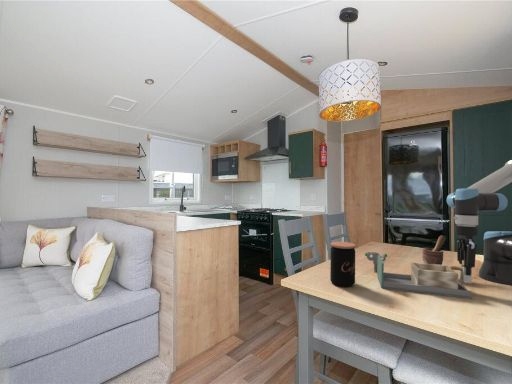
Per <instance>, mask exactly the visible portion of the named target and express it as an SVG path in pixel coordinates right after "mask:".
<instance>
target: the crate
mask: <svg viewBox="0 0 512 384" xmlns="http://www.w3.org/2000/svg"><path fill="white" fill-rule="evenodd" d="M462 265H464V260H462ZM456 271H459V272H460V271H462V280H461V281H463V267H460V266H454V265H449V266H448V265H446V264H445V265H444V264H442V265H436V264H424V262H423V263H422V262H412V261H411V262H410V275H411V281H412V282H413V283H414V285H422V286H431V287H441V288H450V289H458V282H459V272H456Z"/></svg>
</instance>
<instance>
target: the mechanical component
mask: <svg viewBox="0 0 512 384" xmlns="http://www.w3.org/2000/svg"><path fill="white" fill-rule="evenodd" d="M378 255H380V253H379V252H374V251H373V252H372V251H371V252H370V251H366V252H365V253H364V256H365V257H366V259H367V260H368V261H370V262H371V261H372V263H373V272H374V273H376V274H378ZM380 257H381V259H382V261H383V262H386V258H387V257H388V254H387V253H385V252H383V253H382V254H381V255H380Z"/></svg>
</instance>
